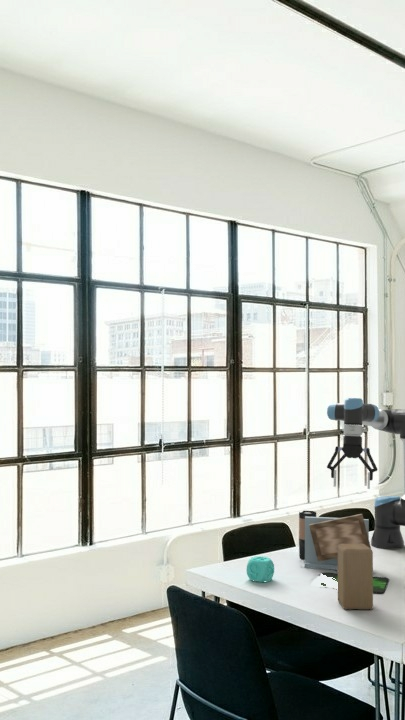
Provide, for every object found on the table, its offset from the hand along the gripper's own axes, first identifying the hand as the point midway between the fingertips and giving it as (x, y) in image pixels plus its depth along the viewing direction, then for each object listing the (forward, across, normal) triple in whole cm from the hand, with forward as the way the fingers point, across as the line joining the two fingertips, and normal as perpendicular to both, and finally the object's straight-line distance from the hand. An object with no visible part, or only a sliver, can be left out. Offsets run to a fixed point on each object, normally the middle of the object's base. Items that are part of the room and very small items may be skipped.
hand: (351, 487), depth 279 cm
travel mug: (+34, -19, +16) cm, 42 cm away
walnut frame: (+28, -2, -1) cm, 28 cm away
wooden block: (+36, +5, -46) cm, 58 cm away
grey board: (+34, -6, +5) cm, 34 cm away
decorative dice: (+36, -32, -24) cm, 53 cm away
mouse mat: (+35, +1, -17) cm, 39 cm away
